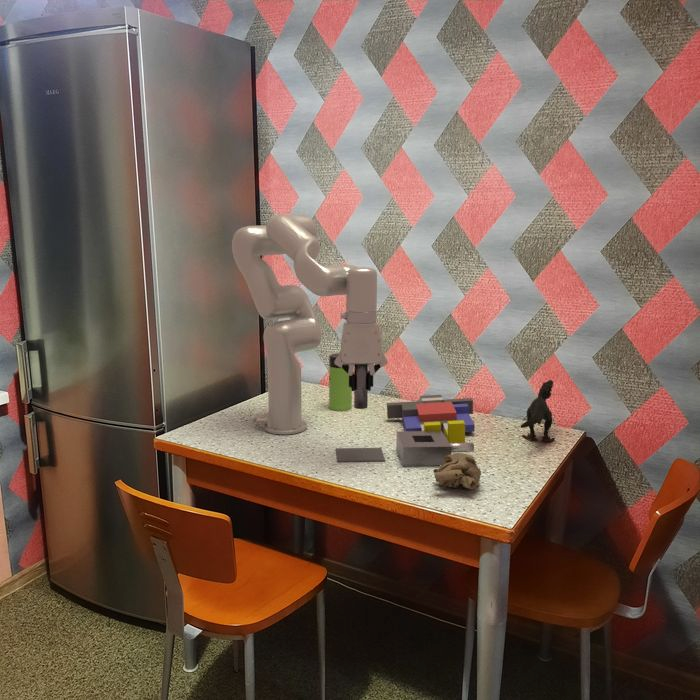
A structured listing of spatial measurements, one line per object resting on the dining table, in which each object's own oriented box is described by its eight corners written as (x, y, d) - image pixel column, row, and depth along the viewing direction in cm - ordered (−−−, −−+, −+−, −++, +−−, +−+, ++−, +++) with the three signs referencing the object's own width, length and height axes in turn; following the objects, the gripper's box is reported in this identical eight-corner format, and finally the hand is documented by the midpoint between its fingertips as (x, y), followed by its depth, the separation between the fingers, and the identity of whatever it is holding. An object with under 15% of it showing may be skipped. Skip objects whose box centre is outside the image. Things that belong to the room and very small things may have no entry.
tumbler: (336, 412, 202) (336, 359, 198) (324, 406, 208) (324, 354, 205) (355, 409, 206) (356, 356, 202) (343, 403, 212) (344, 352, 209)
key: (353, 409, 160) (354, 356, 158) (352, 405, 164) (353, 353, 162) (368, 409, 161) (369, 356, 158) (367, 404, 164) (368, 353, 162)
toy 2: (562, 430, 186) (566, 380, 183) (540, 461, 162) (544, 404, 159) (531, 425, 190) (534, 376, 187) (505, 455, 166) (508, 399, 163)
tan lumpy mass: (449, 437, 154) (424, 464, 141) (493, 449, 149) (471, 478, 136) (447, 464, 156) (422, 493, 144) (490, 477, 151) (468, 508, 139)
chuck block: (402, 466, 158) (403, 447, 157) (396, 449, 170) (396, 431, 169) (478, 465, 159) (479, 446, 158) (466, 448, 171) (467, 430, 170)
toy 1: (392, 427, 171) (385, 389, 199) (393, 456, 173) (386, 414, 202) (489, 421, 171) (467, 384, 199) (488, 451, 173) (467, 409, 202)
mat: (337, 462, 160) (337, 460, 160) (335, 449, 169) (336, 448, 169) (385, 461, 161) (385, 460, 161) (381, 449, 170) (381, 447, 170)
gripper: (328, 320, 154) (328, 394, 157) (396, 319, 155) (395, 393, 158) (327, 315, 161) (327, 386, 165) (392, 315, 162) (391, 385, 166)
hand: (360, 389), depth 162 cm, fingers closed on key, 3 cm apart
